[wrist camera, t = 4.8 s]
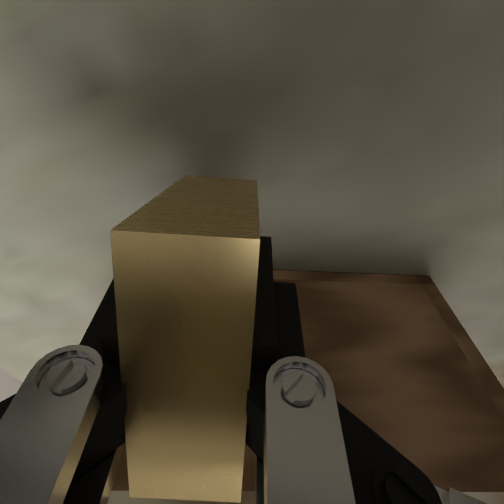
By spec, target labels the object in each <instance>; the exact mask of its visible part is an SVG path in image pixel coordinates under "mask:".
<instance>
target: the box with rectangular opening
mask: <svg viewBox="0 0 504 504" xmlns="http://www.w3.org/2000/svg"><path fill="white" fill-rule="evenodd" d="M273 281H274V282H291V283H295V284H296V289H297V297H298V304H299V312H300V319H301V327H302V334H303V342H304V349H305V357H306V358H308V359H310V360H312V361H315V362H316V363H318V364H319V365H320V366H321V367H323V368H324V369H325V370H326V372H327V373H328V374H329V376H330V378H331V380H332V383H333V386H334V391H335V397H336V400H337V401H338V402H339V403H340V404H342V405H343V406H344V407H345V408H346V409H348V410H349V411H350V412H351V413H353V414H354V415H355V416H356V417H357V418H359V419H360V420H361V421H362V422H363V423H365V424H366V425H367V426H368V427H369V428H371V429H372V430H373V431H374V432H376V433H377V434H378V435H379V436H380V437H382V438H383V439H384V440H385V441H386V442H388V443H389V444H390V445H391V446H393V447H394V448H395V449H396V450H397V451H399V452H400V453H401V454H402V455H403V456H405V457H406V458H407V459H408V460H409V461H411V462H412V463H413V464H414V465H416V466H417V467H418V468H419V469H420V470H421V471H422V472H423V473H424V474H425V475H426V476H427V477H428V478H429V479H430V480H431V482H432V484H433V485H435V486H437V487H439V488H441V489H444V490H447V489H448V488H449V487H451V488H453V489H455V490H457V491H460V492H462V493H464V494H466V495H469V496H471V497H473V498H476V499H478V500H480V501H482V502H485V503H487V504H504V389H503V387H502V386H501V384H500V383H499V381H498V380H497V378H496V376H495V375H494V373H493V372H492V370H491V369H490V367H489V366H488V364H487V363H486V361H485V360H484V358H483V357H482V355H481V354H480V352H479V351H478V349H477V348H476V346H475V345H474V343H473V342H472V340H471V339H470V337H469V336H468V334H467V332H466V331H465V329H464V328H463V326H462V325H461V323H460V322H459V320H458V319H457V317H456V316H455V314H454V313H453V311H452V310H451V308H450V307H449V305H448V304H447V302H446V301H445V299H444V298H443V296H442V295H441V293H440V291H439V290H438V288H437V287H436V285H435V284H434V282H433V281H432V279H431V278H430V276H417V275H391V274H364V273H338V272H311V271H285V270H273ZM254 501H255V453H254V452H253V451H252V450H251V449H250V448H249V447H248V446H247V444H246V443H245V451H244V465H243V478H242V492H241V503H238V502H217V501H197V500H176V499H156V498H135V497H130V495H129V481H128V467H127V453H126V442H125V443H124V447H123V452H122V456H121V459H120V462H119V466H118V469H117V473H116V476H115V480H114V483H113V486H112V490H111V493H110V497H109V500H108V504H254Z"/></svg>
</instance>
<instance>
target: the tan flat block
mask: <svg viewBox="0 0 504 504" xmlns="http://www.w3.org/2000/svg"><path fill="white" fill-rule="evenodd" d="M110 234H111V248H112V261H113V275H114V289H115V303H116V316H117V330H118V344H119V357H120V371H121V383H126V390H127V406H128V408H127V412H126V416H125V419H124V426H125V440H126V453H127V467H128V481H129V495H130V497H135V498H156V499H176V500H197V501H217V502H238V503H241V492H242V478H243V465H244V451H245V438H246V424H247V414H246V400H247V390H249V384H250V371H251V357H252V344H253V330H254V317H255V303H256V290H257V276H258V263H259V249H260V227H259V210H258V193H257V181H256V180H241V179H225V178H210V177H194V176H184V177H182V178H181V179H180V180H178V181H177V182H175V183H174V184H173V185H171V186H170V187H169V188H167V189H166V190H165V191H163V192H162V193H160V194H159V195H158V196H156V197H155V198H154V199H152V200H151V201H149V202H148V203H147V204H145V205H144V206H143V207H141V208H140V209H139V210H137V211H136V212H134V213H133V214H132V215H130V216H129V217H128V218H126V219H125V220H123V221H122V222H121V223H119V224H118V225H117V226H115V227H114V228H113V229H111V230H110Z"/></svg>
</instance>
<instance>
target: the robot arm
mask: <svg viewBox="0 0 504 504" xmlns="http://www.w3.org/2000/svg"><path fill="white" fill-rule="evenodd" d="M127 408H128V406H127V390H126V383H121V371H120V357H119V344H118V330H117V316H116V303H115V289H114V278H113V280H112V282H111V284H110V286H109V288H108V290H107V292H106V294H105V296H104V298H103V300H102V302H101V304H100V306H99V308H98V309H97V311H96V313H95V315H94V317H93V319H92V321H91V323H90V325H89V327H88V329H87V331H86V333H85V335H84V337H83V339H82V341H81V342H80V344H79V345H69V346H65V347H62V348H58V349H56V350H54V351H52V352H50V353H48V354H46V355H45V356H44V357H43V358H41V359H40V360H39V361H38V362H37V363H36V364H35V365H34V366H33V368H32V369H31V370H30V372H29V373H28V375H27V377H26V378H25V380H24V382H23V383H22V385H21V387H20V388H19V390H18V392H17V393H16V394H15V395H13V396H11V397H9V398H7V399H5V400H3V401H2V402H0V504H108V500H109V497H110V493H111V490H112V486H113V483H114V480H115V476H116V473H117V469H118V466H119V462H120V459H121V456H122V452H123V447H124V443H125V442H126V440H125V426H124V419H125V416H126V412H127ZM246 414H247V424H246V438H245V443H246V444H247V446H248V447H249V448H250V449H251V450H252V451H253V452H254V453H255V501H254V504H487V503H485V502H482V501H480V500H478V499H476V498H473V497H471V496H469V495H466V494H464V493H462V492H460V491H457V490H455V489H453V488H451V487H449V488H448V489H447V490H444V489H441V488H439V487H437V486H435V485H433V484H432V482H431V480H430V479H429V478H428V477H427V476H426V475H425V474H424V473H423V472H422V471H421V470H420V469H419V468H418V467H417V466H416V465H414V464H413V463H412V462H411V461H409V460H408V459H407V458H406V457H405V456H403V455H402V454H401V453H400V452H399V451H397V450H396V449H395V448H394V447H393V446H391V445H390V444H389V443H388V442H386V441H385V440H384V439H383V438H382V437H380V436H379V435H378V434H377V433H376V432H374V431H373V430H372V429H371V428H369V427H368V426H367V425H366V424H365V423H363V422H362V421H361V420H360V419H359V418H357V417H356V416H355V415H354V414H353V413H351V412H350V411H349V410H348V409H346V408H345V407H344V406H343V405H342V404H340V403H339V402H338V401H337V400H336V397H335V391H334V386H333V383H332V380H331V378H330V376H329V374H328V373H327V372H326V370H325V369H324V368H323V367H321V366H320V365H319V364H318V363H316V362H315V361H312V360H310V359H308V358H306V357H305V349H304V342H303V334H302V327H301V319H300V312H299V304H298V297H297V289H296V284H295V283H291V282H274V281H273V264H272V246H271V237H262V236H260V249H259V263H258V276H257V290H256V303H255V317H254V330H253V344H252V357H251V371H250V384H249V390H247V400H246Z"/></svg>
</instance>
